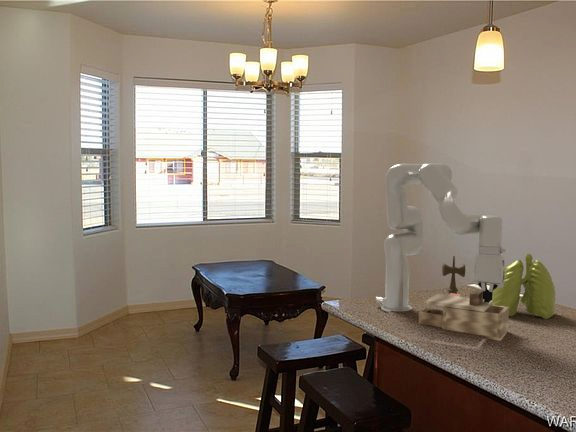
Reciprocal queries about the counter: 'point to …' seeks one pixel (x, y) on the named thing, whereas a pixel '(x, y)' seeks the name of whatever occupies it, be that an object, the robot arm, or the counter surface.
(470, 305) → the lid
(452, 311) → the wooden box
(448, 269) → the kendama
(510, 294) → the lungs
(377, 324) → the counter surface
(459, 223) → the robot arm
